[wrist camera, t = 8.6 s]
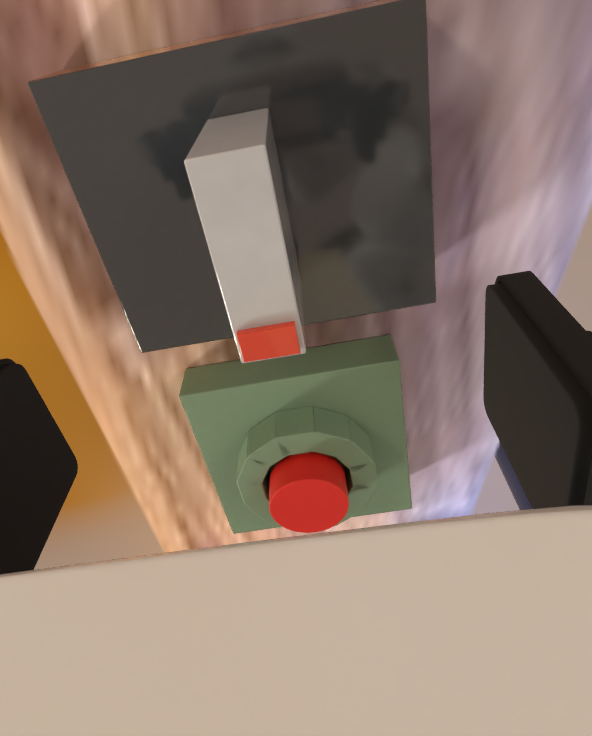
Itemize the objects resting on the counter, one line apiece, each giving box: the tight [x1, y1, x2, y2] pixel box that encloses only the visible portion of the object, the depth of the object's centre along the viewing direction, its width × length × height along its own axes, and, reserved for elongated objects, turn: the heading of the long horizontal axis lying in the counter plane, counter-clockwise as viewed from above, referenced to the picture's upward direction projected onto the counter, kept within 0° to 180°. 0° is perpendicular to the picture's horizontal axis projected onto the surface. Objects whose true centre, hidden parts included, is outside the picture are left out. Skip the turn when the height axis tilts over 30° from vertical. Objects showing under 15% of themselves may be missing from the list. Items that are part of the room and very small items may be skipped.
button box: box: [179, 335, 412, 534], centre depth 27 cm, size 10×10×4 cm
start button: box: [269, 452, 349, 533], centre depth 25 cm, size 4×4×2 cm
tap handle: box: [184, 108, 306, 363], centre depth 16 cm, size 6×2×5 cm, turn 10°
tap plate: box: [28, 0, 436, 353], centre depth 20 cm, size 12×10×3 cm
